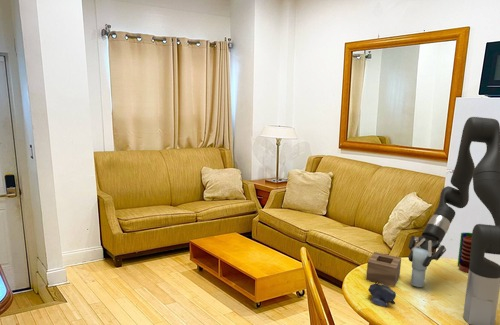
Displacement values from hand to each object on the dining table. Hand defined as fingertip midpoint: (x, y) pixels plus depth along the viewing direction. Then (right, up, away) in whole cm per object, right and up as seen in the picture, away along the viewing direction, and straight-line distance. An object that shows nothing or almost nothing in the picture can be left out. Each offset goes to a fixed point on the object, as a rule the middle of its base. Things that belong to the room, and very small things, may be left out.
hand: (417, 263), depth 150 cm
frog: (-17, -12, -10) cm, 23 cm away
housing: (-10, -8, +9) cm, 16 cm away
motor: (+32, -8, +19) cm, 38 cm away
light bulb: (+1, -9, +3) cm, 9 cm away
